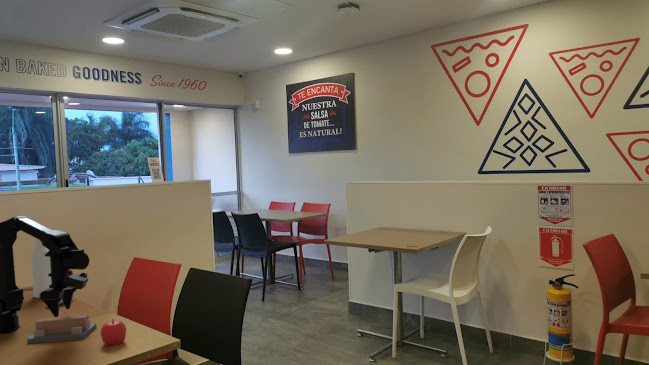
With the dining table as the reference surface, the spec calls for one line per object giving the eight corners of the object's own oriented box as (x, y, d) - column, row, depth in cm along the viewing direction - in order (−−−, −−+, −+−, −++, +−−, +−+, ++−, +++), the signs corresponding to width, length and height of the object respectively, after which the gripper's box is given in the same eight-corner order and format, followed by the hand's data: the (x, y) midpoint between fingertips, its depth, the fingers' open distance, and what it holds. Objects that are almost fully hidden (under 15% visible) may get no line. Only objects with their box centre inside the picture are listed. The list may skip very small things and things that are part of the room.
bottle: (53, 296, 220) (49, 232, 219) (33, 299, 215) (29, 234, 214) (52, 292, 226) (49, 231, 225) (33, 295, 222) (29, 232, 221)
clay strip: (36, 334, 162) (35, 321, 162) (40, 331, 165) (39, 318, 165) (85, 330, 165) (85, 317, 165) (89, 327, 168) (88, 314, 168)
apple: (117, 337, 161) (115, 314, 161) (132, 341, 157) (131, 317, 157) (95, 345, 154) (94, 321, 154) (111, 349, 150) (109, 324, 150)
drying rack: (27, 343, 158) (26, 333, 158) (44, 331, 170) (43, 321, 170) (83, 339, 160) (82, 329, 160) (96, 327, 172) (95, 318, 172)
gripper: (73, 273, 156) (75, 319, 157) (94, 262, 175) (96, 303, 175) (37, 275, 155) (40, 322, 155) (62, 264, 173) (64, 305, 174)
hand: (62, 312), depth 165 cm, fingers open, 9 cm apart
